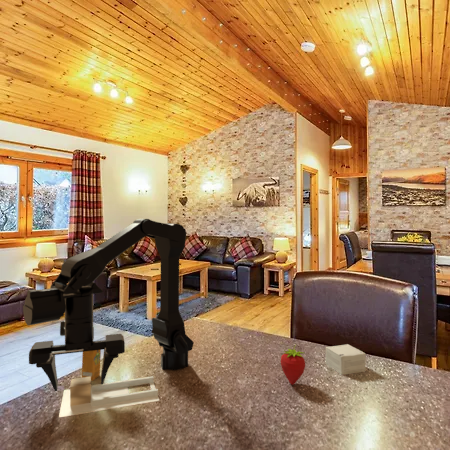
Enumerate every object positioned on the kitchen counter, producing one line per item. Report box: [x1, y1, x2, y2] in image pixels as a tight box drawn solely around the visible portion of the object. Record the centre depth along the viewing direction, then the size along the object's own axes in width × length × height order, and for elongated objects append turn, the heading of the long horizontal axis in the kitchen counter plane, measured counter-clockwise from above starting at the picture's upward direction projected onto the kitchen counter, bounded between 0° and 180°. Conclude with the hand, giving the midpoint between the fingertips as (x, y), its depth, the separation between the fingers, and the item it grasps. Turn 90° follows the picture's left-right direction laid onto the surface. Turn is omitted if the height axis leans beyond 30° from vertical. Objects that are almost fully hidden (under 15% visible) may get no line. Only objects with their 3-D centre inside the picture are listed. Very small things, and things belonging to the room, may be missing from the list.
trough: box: [58, 375, 160, 418], centre depth 79 cm, size 20×12×3 cm, turn 110°
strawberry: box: [280, 344, 306, 386], centre depth 88 cm, size 6×8×10 cm
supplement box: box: [81, 350, 102, 382], centre depth 88 cm, size 3×3×10 cm
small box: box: [325, 343, 367, 376], centre depth 98 cm, size 8×8×5 cm
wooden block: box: [69, 376, 92, 406], centre depth 77 cm, size 4×4×4 cm
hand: (79, 386), depth 77 cm, fingers open, 9 cm apart
